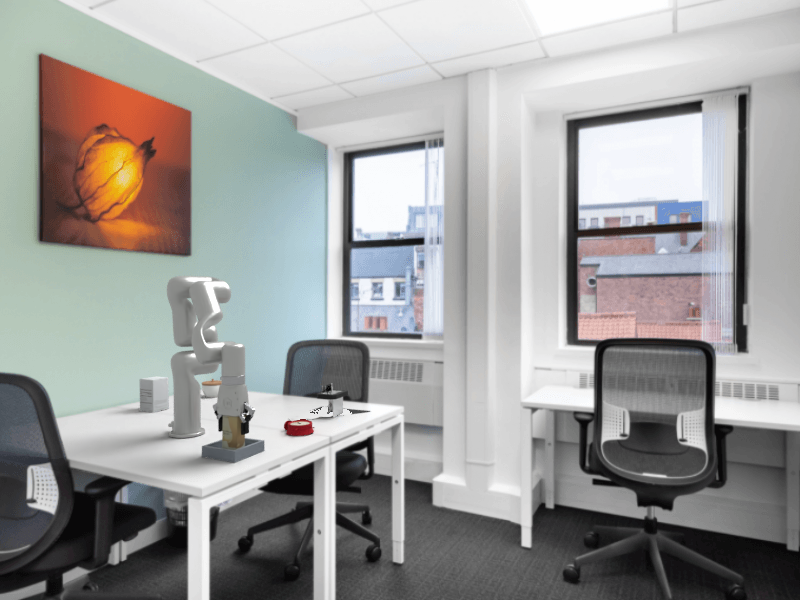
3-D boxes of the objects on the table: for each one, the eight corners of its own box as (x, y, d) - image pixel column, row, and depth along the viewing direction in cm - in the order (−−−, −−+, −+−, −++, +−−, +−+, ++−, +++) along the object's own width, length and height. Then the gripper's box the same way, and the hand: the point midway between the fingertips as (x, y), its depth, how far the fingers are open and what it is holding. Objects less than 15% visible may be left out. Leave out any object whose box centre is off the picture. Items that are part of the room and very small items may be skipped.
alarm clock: (291, 429, 194) (280, 412, 206) (290, 444, 195) (279, 427, 208) (318, 425, 199) (306, 409, 211) (317, 440, 200) (304, 424, 213)
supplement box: (155, 407, 249) (155, 375, 249) (169, 409, 245) (169, 376, 245) (138, 411, 241) (138, 378, 241) (152, 413, 237) (152, 379, 237)
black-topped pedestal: (321, 406, 250) (321, 378, 250) (371, 411, 240) (371, 382, 240) (287, 419, 224) (287, 388, 224) (341, 425, 214) (341, 392, 214)
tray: (201, 456, 171) (201, 446, 171) (232, 445, 184) (232, 435, 184) (234, 462, 165) (234, 451, 165) (264, 450, 178) (264, 440, 178)
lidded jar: (227, 395, 280) (227, 377, 280) (217, 399, 270) (217, 380, 270) (208, 394, 282) (208, 377, 282) (197, 398, 271) (197, 380, 271)
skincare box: (221, 451, 174) (221, 414, 174) (230, 447, 178) (230, 411, 178) (237, 453, 171) (237, 416, 171) (245, 450, 175) (245, 413, 175)
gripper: (205, 380, 175) (205, 432, 175) (245, 384, 167) (246, 438, 167) (221, 377, 182) (222, 427, 182) (261, 380, 174) (261, 432, 174)
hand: (233, 432), depth 175 cm, fingers open, 9 cm apart
